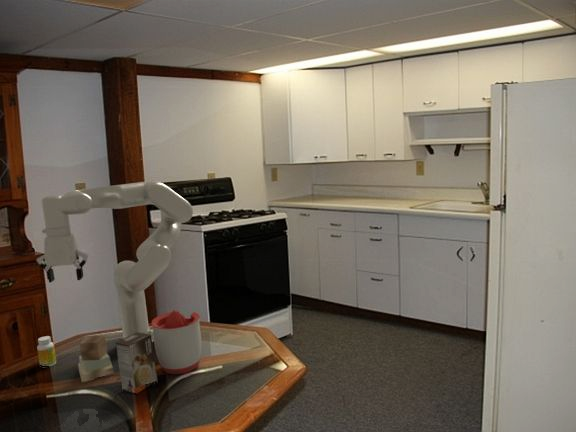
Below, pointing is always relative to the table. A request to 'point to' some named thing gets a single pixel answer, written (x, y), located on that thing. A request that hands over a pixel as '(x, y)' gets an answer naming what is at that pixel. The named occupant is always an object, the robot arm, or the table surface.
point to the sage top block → (95, 363)
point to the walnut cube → (93, 347)
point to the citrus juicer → (177, 342)
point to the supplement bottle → (46, 351)
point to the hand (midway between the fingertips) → (66, 280)
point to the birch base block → (94, 372)
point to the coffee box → (136, 360)
